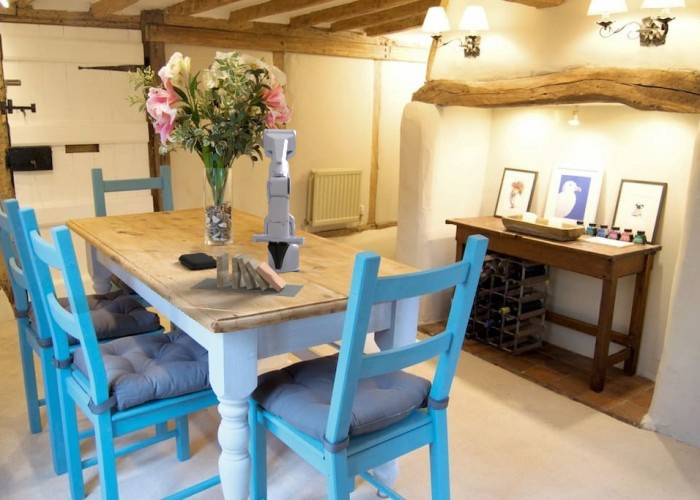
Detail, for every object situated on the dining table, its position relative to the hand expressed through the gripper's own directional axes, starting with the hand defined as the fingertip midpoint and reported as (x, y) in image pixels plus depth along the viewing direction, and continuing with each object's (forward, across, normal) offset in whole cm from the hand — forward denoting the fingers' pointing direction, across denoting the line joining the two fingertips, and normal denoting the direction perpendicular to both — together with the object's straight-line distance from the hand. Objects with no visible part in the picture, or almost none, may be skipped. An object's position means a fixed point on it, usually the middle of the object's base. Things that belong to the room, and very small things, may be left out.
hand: (278, 268), depth 163 cm
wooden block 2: (+6, -3, 0) cm, 6 cm away
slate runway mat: (+6, -9, 0) cm, 11 cm away
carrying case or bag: (+7, -32, +20) cm, 39 cm away
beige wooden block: (+6, -16, 0) cm, 18 cm away
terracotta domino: (+6, +1, 0) cm, 6 cm away
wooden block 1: (+6, -8, 0) cm, 9 cm away
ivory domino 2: (+6, -12, 0) cm, 13 cm away
